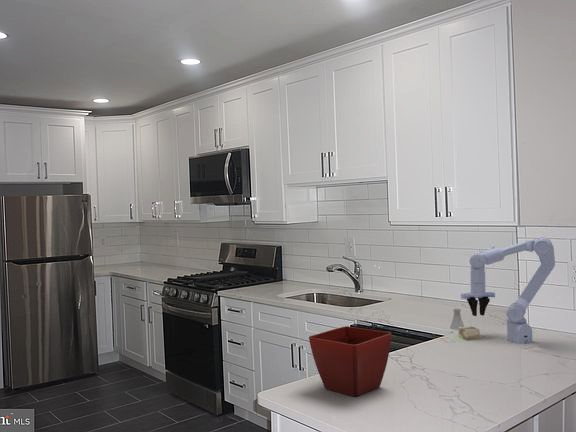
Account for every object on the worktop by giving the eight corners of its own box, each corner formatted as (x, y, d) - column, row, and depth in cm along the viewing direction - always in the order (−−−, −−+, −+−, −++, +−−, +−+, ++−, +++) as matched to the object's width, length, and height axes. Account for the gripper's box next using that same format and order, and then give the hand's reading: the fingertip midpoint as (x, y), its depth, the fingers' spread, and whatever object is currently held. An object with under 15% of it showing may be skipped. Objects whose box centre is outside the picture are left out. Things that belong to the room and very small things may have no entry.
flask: (455, 334, 235) (454, 311, 235) (446, 330, 242) (445, 308, 242) (469, 332, 237) (468, 310, 237) (460, 329, 244) (459, 307, 244)
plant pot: (308, 389, 169) (307, 335, 169) (347, 375, 182) (345, 325, 182) (357, 403, 155) (355, 345, 155) (395, 386, 169) (393, 333, 169)
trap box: (489, 342, 219) (489, 338, 219) (447, 346, 215) (447, 342, 215) (479, 338, 226) (479, 334, 226) (439, 342, 222) (439, 338, 222)
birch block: (479, 339, 219) (479, 329, 219) (466, 340, 218) (466, 330, 218) (471, 335, 225) (471, 326, 225) (458, 337, 223) (458, 327, 223)
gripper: (488, 280, 228) (488, 312, 228) (456, 282, 225) (457, 314, 225) (498, 282, 221) (498, 315, 221) (465, 284, 218) (466, 317, 218)
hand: (478, 315), depth 222 cm, fingers open, 3 cm apart
